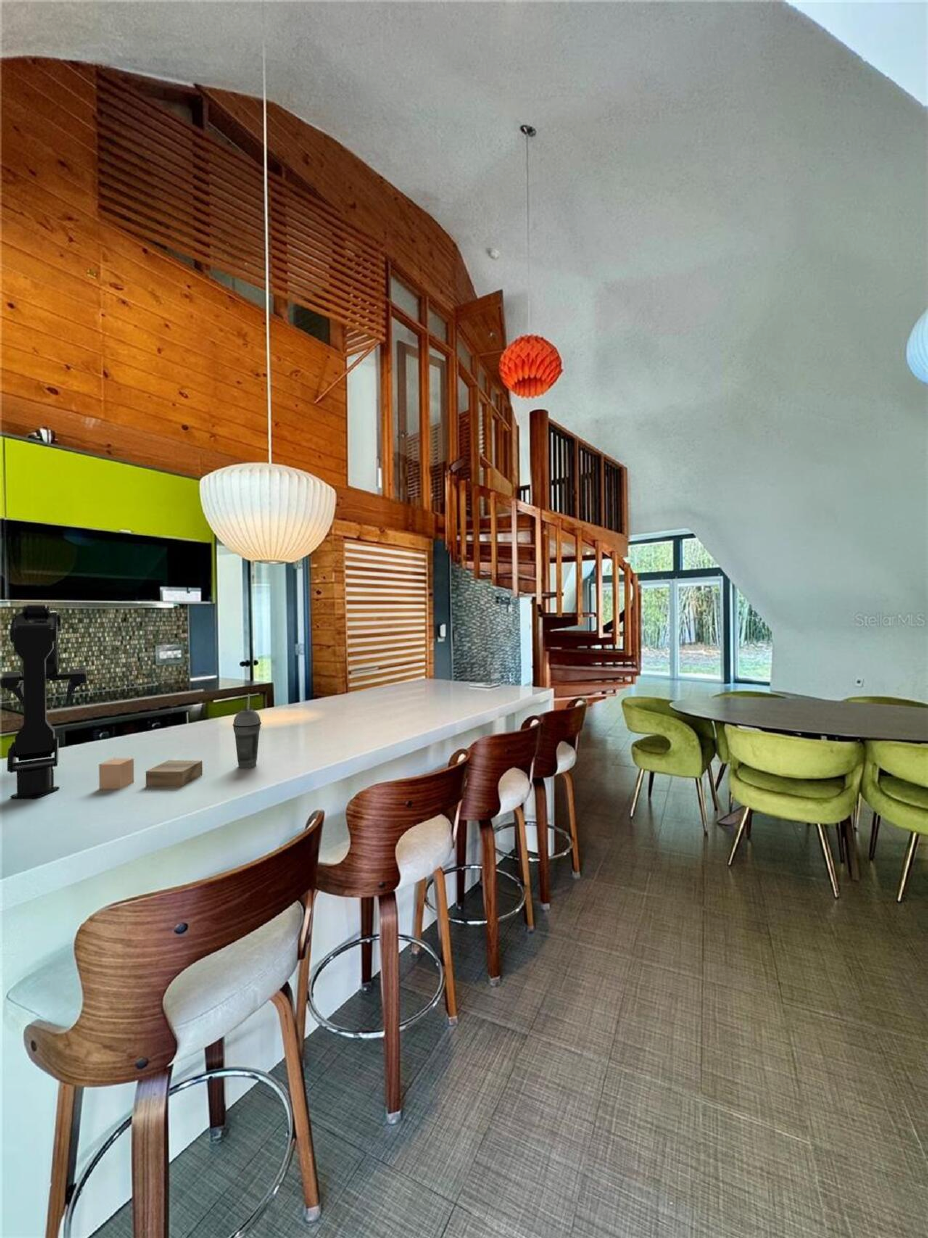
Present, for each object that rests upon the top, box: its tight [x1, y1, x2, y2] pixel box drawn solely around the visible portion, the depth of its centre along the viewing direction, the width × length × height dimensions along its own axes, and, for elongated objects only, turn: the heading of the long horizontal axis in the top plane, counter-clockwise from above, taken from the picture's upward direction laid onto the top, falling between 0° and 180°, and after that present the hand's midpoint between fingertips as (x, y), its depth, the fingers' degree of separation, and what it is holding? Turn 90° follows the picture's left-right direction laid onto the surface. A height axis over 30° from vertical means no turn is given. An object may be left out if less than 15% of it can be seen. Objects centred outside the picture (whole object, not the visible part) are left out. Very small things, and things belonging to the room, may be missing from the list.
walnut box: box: [145, 759, 203, 788], centre depth 128 cm, size 9×9×4 cm
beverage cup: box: [232, 693, 262, 769], centre depth 140 cm, size 7×7×20 cm
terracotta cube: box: [98, 757, 135, 790], centre depth 125 cm, size 5×5×6 cm
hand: (46, 706), depth 146 cm, fingers open, 9 cm apart
